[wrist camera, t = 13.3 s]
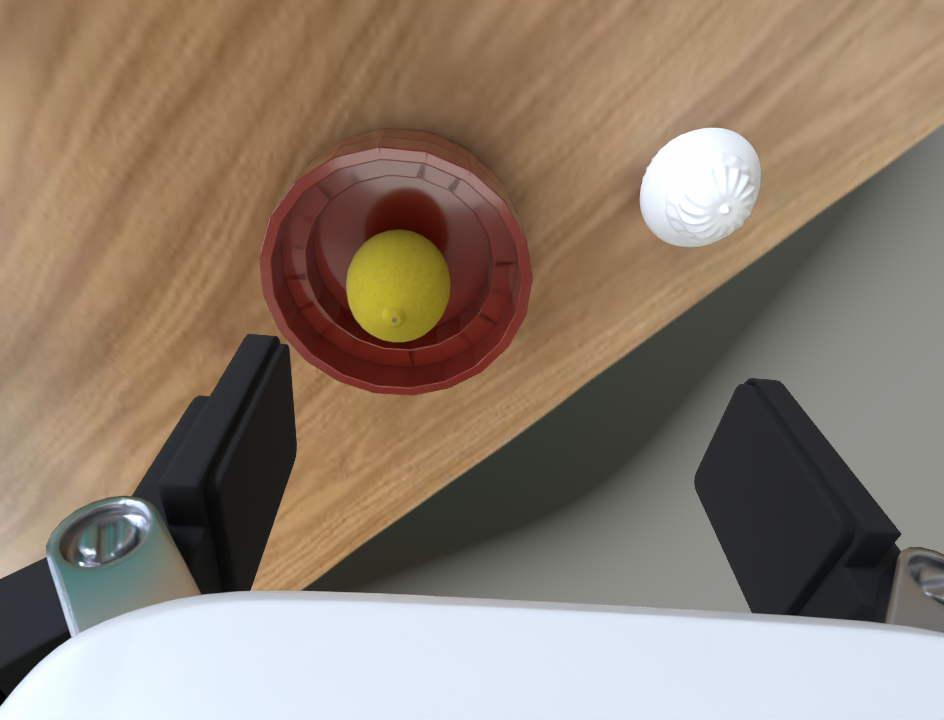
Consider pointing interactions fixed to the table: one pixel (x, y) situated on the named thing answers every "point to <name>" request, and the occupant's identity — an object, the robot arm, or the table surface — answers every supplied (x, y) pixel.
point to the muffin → (700, 187)
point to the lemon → (398, 285)
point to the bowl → (391, 208)
